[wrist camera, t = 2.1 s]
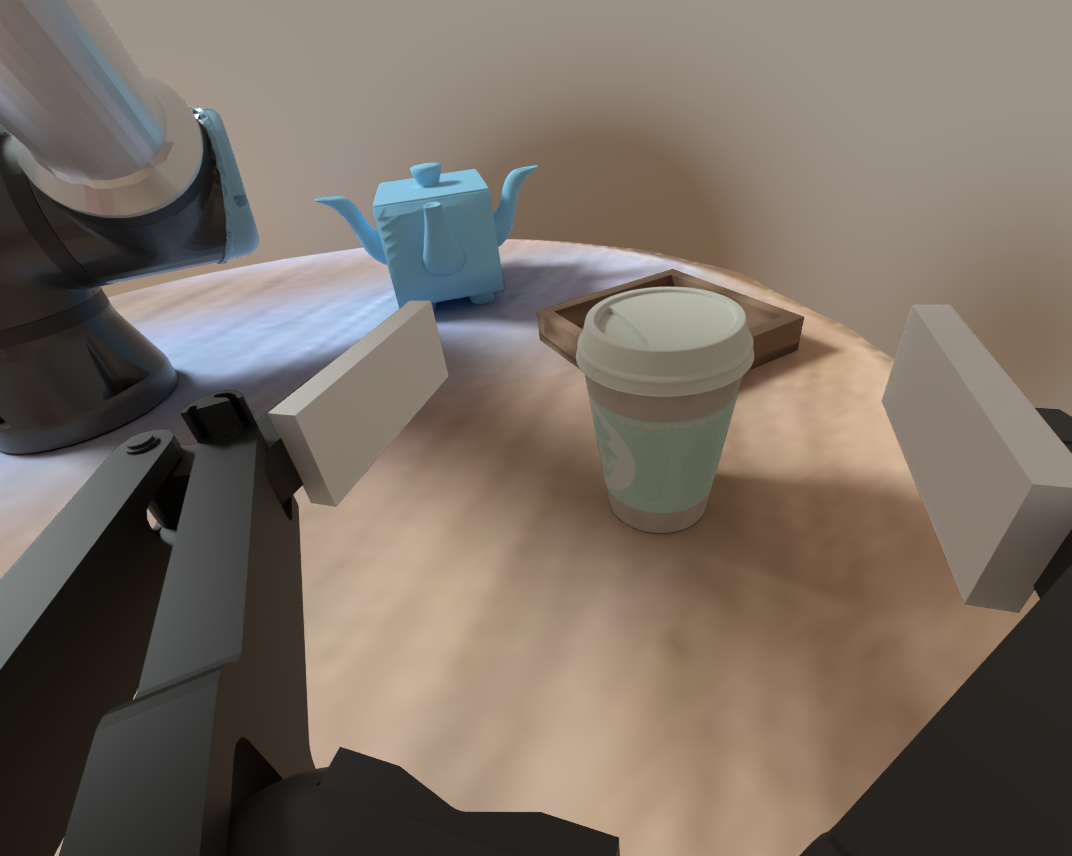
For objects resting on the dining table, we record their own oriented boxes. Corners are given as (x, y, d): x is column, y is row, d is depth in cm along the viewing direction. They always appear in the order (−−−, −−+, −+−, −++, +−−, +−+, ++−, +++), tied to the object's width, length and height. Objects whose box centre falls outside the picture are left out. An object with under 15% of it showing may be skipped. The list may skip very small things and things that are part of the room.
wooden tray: (539, 339, 51) (536, 311, 50) (671, 296, 57) (672, 269, 55) (641, 414, 39) (642, 379, 37) (797, 349, 44) (804, 316, 43)
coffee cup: (603, 448, 36) (596, 281, 29) (733, 463, 33) (759, 283, 26) (570, 538, 30) (551, 351, 23) (727, 566, 27) (760, 363, 20)
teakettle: (446, 264, 75) (422, 151, 67) (555, 276, 66) (544, 146, 57) (343, 315, 63) (298, 184, 54) (460, 339, 53) (427, 185, 45)
